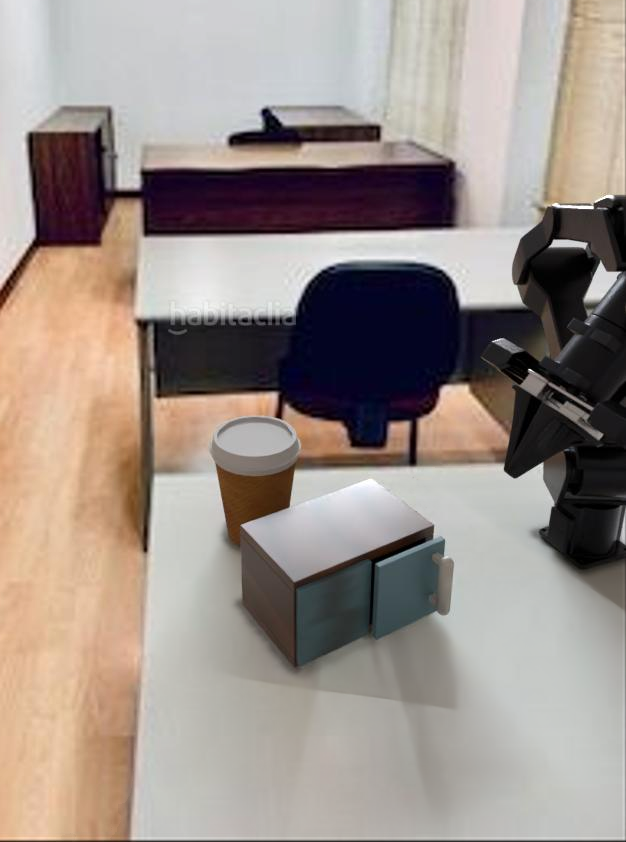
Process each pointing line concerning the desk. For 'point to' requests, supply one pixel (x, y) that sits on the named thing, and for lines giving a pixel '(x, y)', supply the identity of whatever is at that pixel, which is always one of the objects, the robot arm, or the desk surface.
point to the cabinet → (323, 566)
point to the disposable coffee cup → (254, 468)
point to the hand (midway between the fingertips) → (509, 474)
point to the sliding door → (411, 587)
